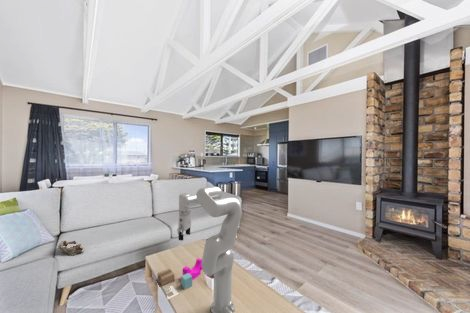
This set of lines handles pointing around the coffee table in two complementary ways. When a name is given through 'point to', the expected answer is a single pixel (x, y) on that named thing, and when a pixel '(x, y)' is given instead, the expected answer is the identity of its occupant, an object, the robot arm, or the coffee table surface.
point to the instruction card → (171, 292)
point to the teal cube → (186, 281)
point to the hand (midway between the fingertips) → (184, 237)
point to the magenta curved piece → (194, 269)
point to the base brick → (165, 277)
